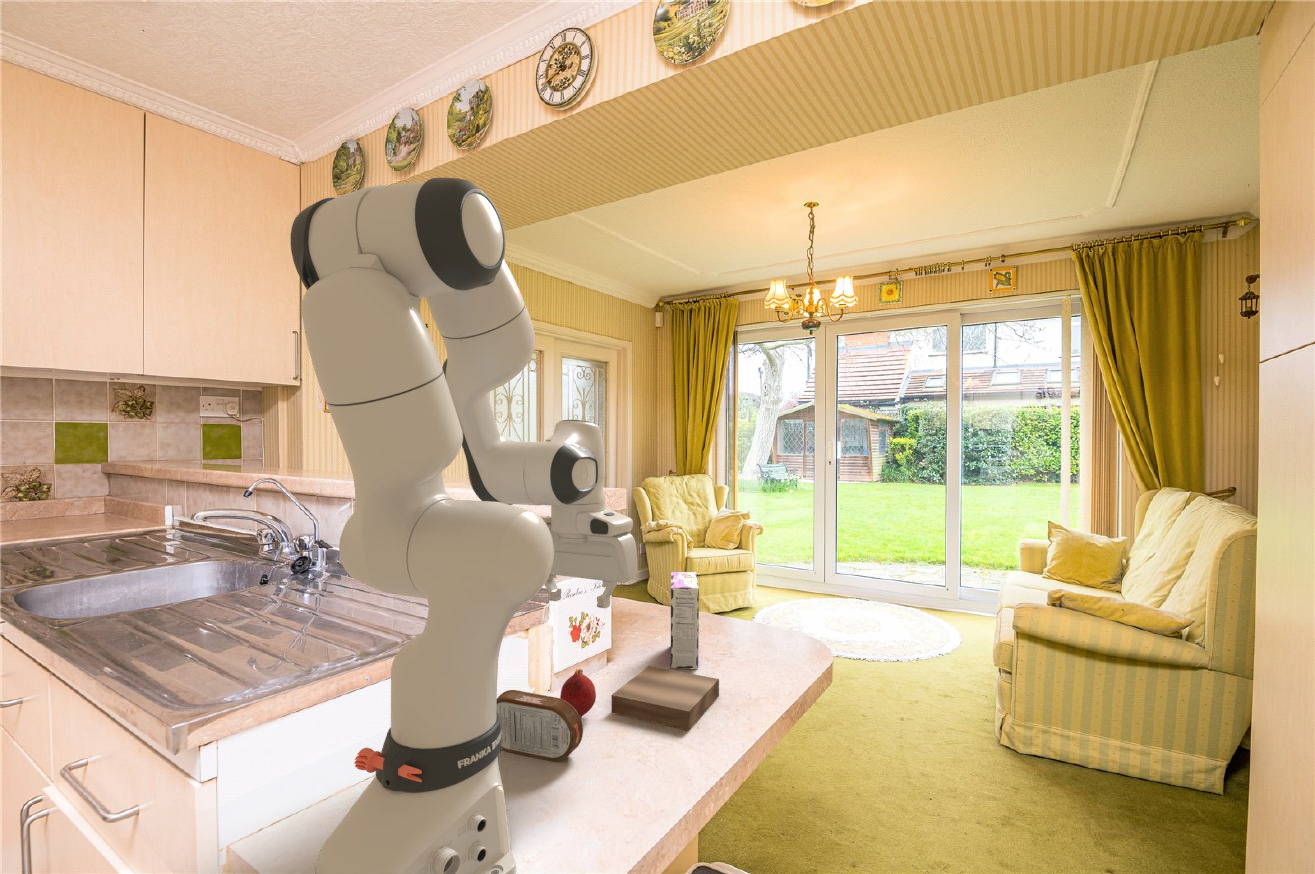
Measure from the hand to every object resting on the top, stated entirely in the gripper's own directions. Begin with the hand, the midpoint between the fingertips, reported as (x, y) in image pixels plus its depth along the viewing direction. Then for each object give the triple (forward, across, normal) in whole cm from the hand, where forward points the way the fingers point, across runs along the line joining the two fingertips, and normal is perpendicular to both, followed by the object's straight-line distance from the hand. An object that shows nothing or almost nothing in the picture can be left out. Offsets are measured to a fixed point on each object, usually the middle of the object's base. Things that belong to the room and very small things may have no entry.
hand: (578, 603), depth 97 cm
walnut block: (+19, +11, +11) cm, 24 cm away
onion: (+19, 0, 0) cm, 19 cm away
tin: (+19, 0, -12) cm, 23 cm away
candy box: (+19, +5, +33) cm, 38 cm away
